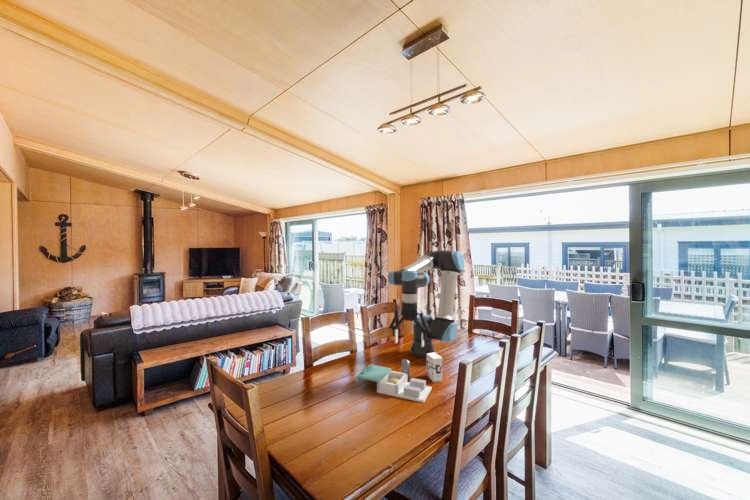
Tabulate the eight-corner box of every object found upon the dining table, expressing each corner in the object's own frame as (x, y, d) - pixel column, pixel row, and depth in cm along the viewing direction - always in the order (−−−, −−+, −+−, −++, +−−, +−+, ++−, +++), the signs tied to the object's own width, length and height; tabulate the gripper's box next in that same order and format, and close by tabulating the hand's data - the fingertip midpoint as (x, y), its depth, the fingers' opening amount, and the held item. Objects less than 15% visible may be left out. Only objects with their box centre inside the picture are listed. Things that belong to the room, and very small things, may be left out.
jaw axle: (403, 375, 161) (403, 358, 161) (410, 377, 160) (410, 359, 160) (400, 378, 158) (400, 361, 158) (408, 380, 156) (408, 362, 156)
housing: (388, 380, 156) (388, 370, 156) (431, 388, 147) (432, 378, 147) (376, 392, 144) (376, 381, 143) (423, 402, 134) (423, 391, 134)
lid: (369, 370, 161) (370, 362, 161) (391, 374, 156) (391, 365, 156) (356, 381, 147) (356, 372, 147) (379, 386, 143) (379, 377, 142)
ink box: (425, 375, 162) (425, 352, 162) (434, 374, 164) (434, 351, 163) (433, 382, 154) (433, 358, 154) (442, 381, 156) (442, 357, 155)
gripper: (383, 301, 156) (383, 343, 157) (432, 305, 147) (432, 350, 147) (388, 298, 163) (388, 339, 164) (436, 302, 154) (436, 345, 154)
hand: (409, 344), depth 156 cm, fingers open, 13 cm apart
